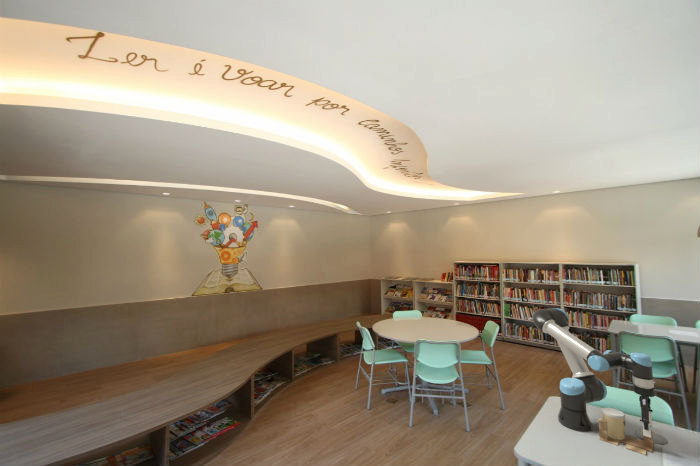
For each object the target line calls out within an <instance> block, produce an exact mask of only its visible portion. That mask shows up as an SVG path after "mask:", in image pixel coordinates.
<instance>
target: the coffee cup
mask: <svg viewBox="0 0 700 466" xmlns="http://www.w3.org/2000/svg"><path fill="white" fill-rule="evenodd" d="M601 414H602V419H605V420H607V428H608V436H609V437H611V438H614V439H618V440H623V439H624V438H625V435H626V433H625V432H626V415H625V413H624V412H623V411H621V410H619V409H617V408H615V407H614V408H613V407H608V406H607V407H605V406H604V407H602V409H601Z"/></svg>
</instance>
